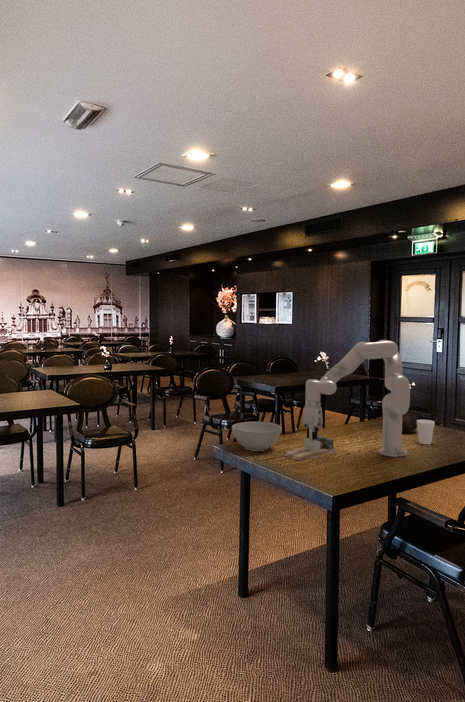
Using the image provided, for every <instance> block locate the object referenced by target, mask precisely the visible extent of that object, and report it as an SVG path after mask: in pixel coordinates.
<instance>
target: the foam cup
mask: <svg viewBox="0 0 465 702" xmlns="http://www.w3.org/2000/svg"><path fill="white" fill-rule="evenodd" d="M435 422H436V421H434V420H431V419H418V420H417V428H416V429H417V437H418V444H419V443H421V444H432V439H433V434H434V428H435ZM421 444H420V445H421Z"/></svg>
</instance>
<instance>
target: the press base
mask: <svg viewBox="0 0 465 702" xmlns="http://www.w3.org/2000/svg"><path fill="white" fill-rule="evenodd" d="M315 440H316V441H319V442H322V443H323V449H320V452H314V451H310V450H307V449H304V447H300V448H296V449H295V448H294V449H290V450H285V451H284V450H283V452H282V455H284V457H286V456H287V458H290V459H293V460H295V461H298V462H301V461H306V460H310V459H315V458H319V457H324V456H328V455H332V454H336V450H337V449H336V448H334V446H335V443H334V438H333V439H332V438H329V437H325V436H321V435H317V439H315Z"/></svg>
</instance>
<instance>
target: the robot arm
mask: <svg viewBox="0 0 465 702" xmlns="http://www.w3.org/2000/svg"><path fill="white" fill-rule="evenodd" d="M377 359H378V360H379V359H383V361H384V366H385V367H384V387H385V388H386V389H387V390H389V391H390V393H387V394H386V395H385V396H384V397H383V399H382V403H381V406H382V407H381V408H382V438H381V439H382V443H381V448H380V449H379V450H378V453H379V454H380V455H381V456H385V457H391V458H392V457H394V458H399V457H404V456H405V455H407V454H408V449H404V446H403V445H402V436H403V433H402V415H404V414H405V413H406V412H407V411H408V410H410V409H409V408H410V400H411V385H410V381H409V379H408V378H407V377H406V376H405V375H403V360H402V356H401V354H400V352H399V347H398V345H397V343H396V342H395V341H392V340H388V339H380V340H377V341H375V342H373V341H372V342H367V341H359V342H357V343H356V344H355V345H353V347H352V348H351V349H350V350H349V351H348V352H347V354H345V355H344V357H342V358H341V360H340V361H339V362H337V363H336V364H335V365H334V366H332V367H331V368H330V369H329V370H328V371H326V373H325V374H324V375H323V376H322V377H321V378H320V379H313V378H311V379H307V380H306V381H305V400H304V401H305V404H304V408H303V412H302V413H303V414H302V415H303V416H302V419H303V420H302V425H303V426H304V427H305V430H306V439H307V438H308V439H309V426H308V425H312V426H313V432H312V440H316V439H317V436H318V432H319V431H320V430H321V429H323V422H324V421H323V409H322V406H321V405H322V402H321V395H329V396H330V395H333V394H335V393H336V391H337V389H338V386H337V383H338V382H339V381H340V380H341V379H342V378H344V377H346V376H348V375H351V374H353V372H354V371H355V370H357V368H359V366H360V365H361V364H362V363H363V362H364V361H365V360H377Z"/></svg>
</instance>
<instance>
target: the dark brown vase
mask: <svg viewBox="0 0 465 702" xmlns="http://www.w3.org/2000/svg"><path fill="white" fill-rule="evenodd" d="M417 420H419V417H418V416H417V415H416V414H415V413H413V412H410V409H408V411H407V412H406V413H405V414H404V415H402V434H410V433H413V432H414V431H415V430H416V429H417ZM409 432H410V433H409Z"/></svg>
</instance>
